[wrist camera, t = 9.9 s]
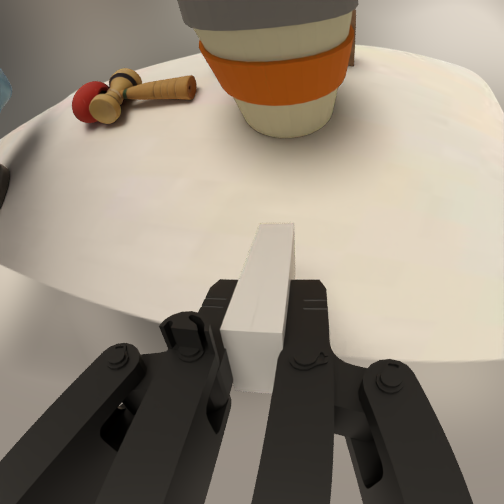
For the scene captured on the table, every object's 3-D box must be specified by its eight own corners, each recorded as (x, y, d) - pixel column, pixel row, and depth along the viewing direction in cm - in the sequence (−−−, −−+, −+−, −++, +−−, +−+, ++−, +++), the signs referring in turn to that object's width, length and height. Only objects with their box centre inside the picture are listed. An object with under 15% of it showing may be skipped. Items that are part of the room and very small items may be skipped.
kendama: (206, 80, 30) (97, 93, 32) (195, 48, 24) (76, 71, 25) (193, 128, 29) (79, 136, 31) (177, 98, 23) (54, 117, 25)
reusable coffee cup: (337, 168, 21) (347, -6, 7) (205, 141, 25) (133, 12, 11) (358, 82, 24) (362, -40, 10) (252, 67, 27) (220, -39, 13)
